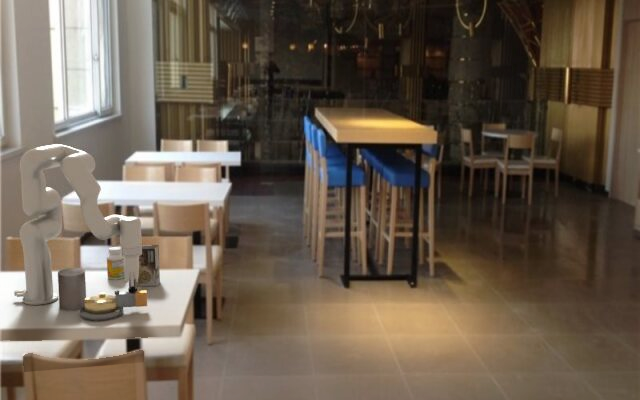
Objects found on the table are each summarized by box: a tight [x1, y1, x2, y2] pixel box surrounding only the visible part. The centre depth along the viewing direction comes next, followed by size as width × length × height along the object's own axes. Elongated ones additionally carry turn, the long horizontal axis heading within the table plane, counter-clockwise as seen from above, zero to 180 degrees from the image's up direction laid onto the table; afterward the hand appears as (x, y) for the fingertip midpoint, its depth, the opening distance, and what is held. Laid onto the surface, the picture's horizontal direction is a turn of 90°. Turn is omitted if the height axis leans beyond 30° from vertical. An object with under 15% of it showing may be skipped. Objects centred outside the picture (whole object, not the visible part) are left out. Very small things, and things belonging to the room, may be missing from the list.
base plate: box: [79, 307, 124, 323], centre depth 258 cm, size 15×15×2 cm
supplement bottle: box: [106, 246, 124, 281], centre depth 302 cm, size 7×7×13 cm
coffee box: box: [137, 244, 161, 287], centre depth 293 cm, size 9×6×16 cm
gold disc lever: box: [84, 290, 148, 314], centre depth 258 cm, size 22×12×6 cm, turn 103°
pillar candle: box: [57, 267, 87, 312], centre depth 265 cm, size 10×10×15 cm
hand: (133, 298), depth 264 cm, fingers closed
